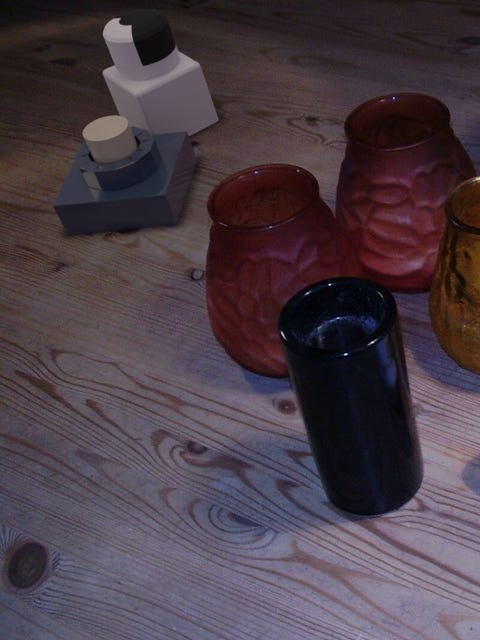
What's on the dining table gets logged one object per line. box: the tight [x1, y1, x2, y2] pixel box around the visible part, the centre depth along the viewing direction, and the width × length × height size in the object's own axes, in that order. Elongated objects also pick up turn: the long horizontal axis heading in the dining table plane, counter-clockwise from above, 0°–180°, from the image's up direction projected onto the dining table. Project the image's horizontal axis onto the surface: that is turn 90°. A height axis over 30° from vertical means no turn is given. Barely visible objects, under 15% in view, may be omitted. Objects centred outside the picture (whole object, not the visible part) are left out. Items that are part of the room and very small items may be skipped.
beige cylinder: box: [82, 114, 138, 164], centre depth 88 cm, size 4×4×3 cm
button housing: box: [52, 127, 198, 236], centre depth 91 cm, size 10×10×6 cm
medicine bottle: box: [102, 8, 220, 137], centre depth 97 cm, size 7×7×12 cm
